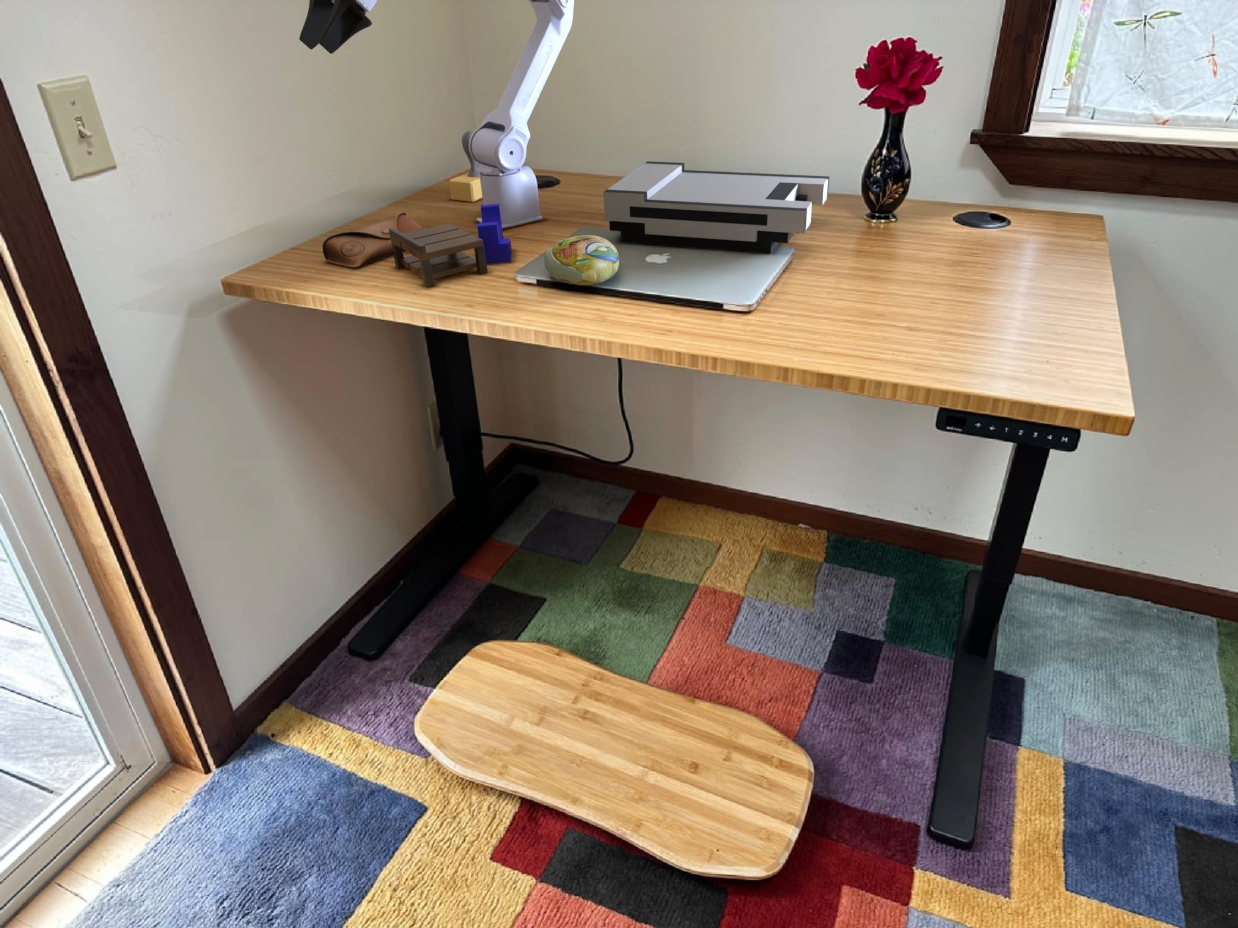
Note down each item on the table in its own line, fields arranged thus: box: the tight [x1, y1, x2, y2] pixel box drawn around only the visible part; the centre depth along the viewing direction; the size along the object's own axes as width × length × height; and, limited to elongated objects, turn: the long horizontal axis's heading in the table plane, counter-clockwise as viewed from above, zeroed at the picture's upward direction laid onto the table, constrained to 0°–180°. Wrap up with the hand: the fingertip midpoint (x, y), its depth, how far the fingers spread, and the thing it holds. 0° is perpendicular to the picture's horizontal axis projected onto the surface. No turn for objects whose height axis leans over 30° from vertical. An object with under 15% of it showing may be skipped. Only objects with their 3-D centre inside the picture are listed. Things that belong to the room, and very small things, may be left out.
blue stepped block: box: [476, 204, 513, 265], centre depth 139 cm, size 12×4×6 cm, turn 5°
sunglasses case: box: [322, 212, 425, 268], centre depth 143 cm, size 18×7×7 cm
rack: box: [389, 223, 488, 288], centre depth 132 cm, size 10×12×6 cm
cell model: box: [543, 234, 620, 286], centre depth 126 cm, size 11×8×15 cm
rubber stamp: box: [448, 130, 482, 203], centre depth 168 cm, size 10×6×12 cm, turn 150°
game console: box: [602, 160, 830, 254], centre depth 142 cm, size 21×32×8 cm, turn 69°
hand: (315, 46), depth 124 cm, fingers open, 7 cm apart
